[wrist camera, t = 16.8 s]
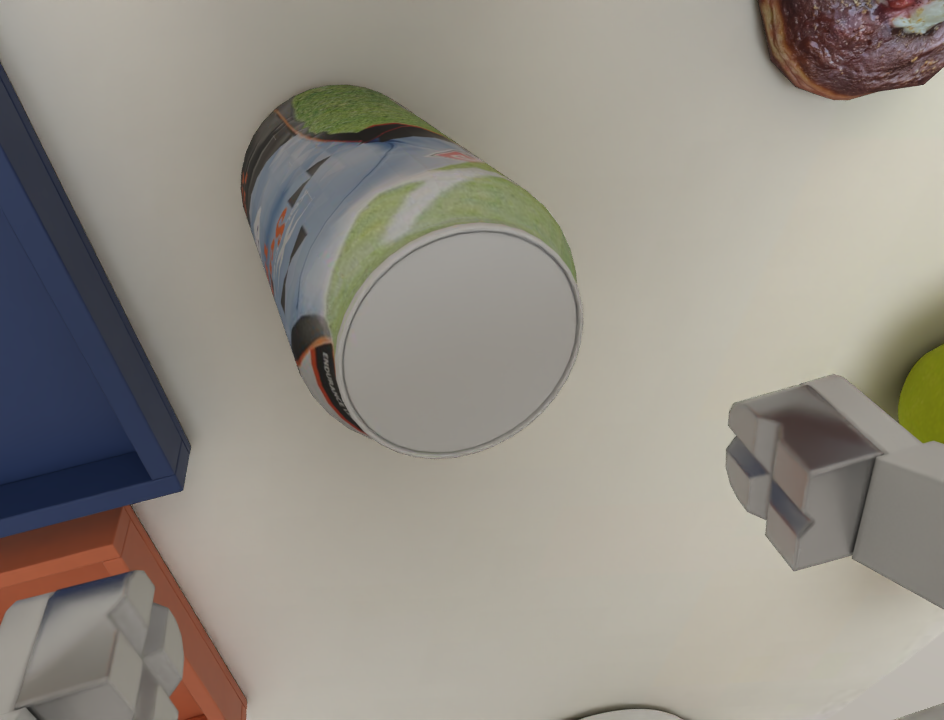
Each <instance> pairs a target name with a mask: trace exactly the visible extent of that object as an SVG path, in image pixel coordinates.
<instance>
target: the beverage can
mask: <svg viewBox="0 0 944 720" xmlns="http://www.w3.org/2000/svg"><path fill="white" fill-rule="evenodd" d="M241 194H242V201H243V207H244V210H245V213H246V216H247V219H248V222H249V225H250V228H251V231H252V234H253V237H254V240H255V243H256V246H257V249H258V252H259V255H260V258H261V261H262V264H263V267H264V270H265V273H266V276H267V279H268V281H269V284H270V287H271V290H272V293H273V296H274V299H275V302H276V305H277V308H278V311H279V314H280V317H281V320H282V323H283V326H284V329H285V332H286V335H287V337H288V340H289V343H290V346H291V349H292V352H293V355H294V358H295V361H296V364H297V367H298V370H299V373H300V375H301V377H302V378H303V380H304V382H305V384H306V385H307V387H308V389H309V390H310V392H311V394H312V395H313V397H314V398H315V399H316V400H317V401H318V402H319V403H320V404H321V406H322V407H323V408H324V409H325V410H326V411H327V412H328V413H329V414H330V415H331V416H333V417H334V418H335V419H337V420H338V421H339V422H341V423H342V424H343V425H345V426H346V427H348V428H349V429H351V430H353V431H355V432H357V433H360V434H362V435H364V436H366V437H368V438H370V439H374V440H375V441H377V442H378V443H379V444H381V445H383V446H385V447H387V448H389V449H391V450H393V451H396V452H398V453H402V454H405V455H409V456H413V457H419V458H430V459H443V458H456V457H460V456H465V455H470V454H474V453H477V452H480V451H482V450H485V449H488V448H491V447H493V446H495V445H497V444H499V443H501V442H503V441H505V440H507V439H509V438H511V437H512V436H514V435H515V434H516V433H518V432H519V431H521V430H522V429H524V428H525V427H526V426H528V425H529V424H530V423H531V422H532V421H533V420H535V419H536V418H537V417H538V416H539V415H540V414H541V413H542V412H543V411H544V410H545V409H546V408H547V407H548V405H549V404H550V403H551V402H552V401H553V400H554V398H555V397H556V396H557V394H558V393H559V391H560V390H561V388H562V387H563V385H564V384H565V382H566V380H567V379H568V377H569V374H570V372H571V370H572V368H573V366H574V364H575V361H576V358H577V355H578V351H579V348H580V344H581V338H582V330H583V309H582V301H581V297H580V293H579V289H578V286H577V280H576V270H575V266H574V262H573V258H572V254H571V250H570V247H569V245H568V243H567V241H566V239H565V237H564V235H563V233H562V230H561V228H560V226H559V225H558V224H557V222H556V221H555V220H554V218H553V217H552V216H551V214H550V213H549V212H548V210H547V209H546V208H545V207H544V206H543V205H542V204H541V203H540V202H539V201H538V200H536V199H535V198H534V197H533V196H532V195H531V194H530V193H528V192H527V191H526V190H525V189H523V188H522V187H520V186H519V185H517V184H516V183H514V182H513V181H511V180H510V179H508V178H507V177H506V176H504V175H503V174H501V173H500V172H498V171H497V170H495V169H494V168H492V167H491V166H489V165H488V164H487V163H485V162H484V161H482V160H481V159H479V158H478V157H476V156H475V155H473V154H472V153H470V152H469V151H467V150H466V149H465V148H463V147H462V146H460V145H459V144H457V143H456V142H454V141H453V140H451V139H450V138H448V137H447V136H445V135H444V134H443V133H441V132H440V131H438V130H437V129H435V128H434V127H432V126H431V125H429V124H428V123H426V122H425V121H424V120H422V119H421V118H419V117H418V116H416V115H415V114H413V113H412V112H410V111H409V110H407V109H406V108H404V107H403V106H402V105H400V104H399V103H397V102H395V101H394V100H392V99H390V98H388V97H387V96H385V95H383V94H381V93H379V92H376V91H373V90H370V89H367V88H364V87H357V86H351V85H328V86H324V87H319V88H315V89H310V90H308V91H305V92H303V93H301V94H298V95H296V96H294V97H292V98H291V99H289V100H288V101H286V102H285V103H283V104H282V105H280V106H279V107H277V108H276V109H275V110H274V111H273V112H272V113H271V114H270V115H269V116H268V117H267V118H266V119H265V120H264V121H263V123H262V124H261V126H260V127H259V129H258V130H257V131H256V133H255V134H254V136H253V138H252V140H251V142H250V145H249V147H248V149H247V151H246V155H245V159H244V163H243V167H242V174H241Z"/></svg>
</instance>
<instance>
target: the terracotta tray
mask: <svg viewBox="0 0 944 720" xmlns="http://www.w3.org/2000/svg"><path fill="white" fill-rule="evenodd" d="M133 570H142V571H145V573H146V574H147V576H148V577H149V579H150V580H151V581H152V583H153V584H154V586H155V591H154V598H153V602H154V603H157V604H160V605H162V606H165V607H167V608H169V609H170V611H171V612H172V614H173V616H174V617H175V619H176V621H177V624H178V627H179V630H180V632H181V635H182V643H183V651H184V667H183V678H182V680H181V682H180V683H179V685H178V686H177V687H176V689H175V690H174V692H173V693H172V694H171V696H170V697H169V698H170V700H171V701H172V703H173V704H174V706H175V707H176V708H177V710H178V711H179V714H178V720H246V710H247V700H246V698H245V697H244V695H243V693H242V692H241V690H240V688H239V687H238V685H237V683H236V682H235V680H234V678H233V677H232V675H231V673H230V672H229V670H228V668H227V667H226V665H225V663H224V662H223V660H222V658H221V657H220V655H219V653H218V652H217V650H216V648H215V647H214V645H213V643H212V642H211V640H210V638H209V637H208V635H207V633H206V632H205V630H204V628H203V627H202V625H201V623H200V622H199V620H198V618H197V617H196V615H195V613H194V612H193V610H192V608H191V606H190V605H189V603H188V601H187V600H186V598H185V596H184V595H183V593H182V591H181V590H180V588H179V586H178V585H177V583H176V581H175V580H174V578H173V576H172V575H171V573H170V571H169V570H168V568H167V566H166V565H165V563H164V561H163V560H162V558H161V556H160V555H159V553H158V551H157V550H156V548H155V546H154V545H153V543H152V541H151V540H150V538H149V536H148V535H147V533H146V531H145V530H144V528H143V526H142V525H141V523H140V521H139V520H138V518H137V516H136V514H135V513H134V511H133V509H132V508H131V506H130V505H127V506H123V507H119V508H115V509H111V510H107V511H104V512H100V513H96V514H92V515H88V516H84V517H80V518H77V519H73V520H69V521H65V522H61V523H57V524H53V525H50V526H46V527H42V528H38V529H34V530H30V531H26V532H23V533H19V534H15V535H11V536H7V537H3V538H0V625H1V622H2V620H3V617H4V614H5V612H6V611H7V610H8V609H9V608H10V607H11V606H12V605H13V604H14V603H15V602H16V601H18V600H22V599H26V598H30V597H34V596H38V595H42V594H46V593H50V592H54V591H56V590H58V589H62V588H66V587H70V586H74V585H78V584H82V583H86V582H90V581H94V580H98V579H102V578H106V577H110V576H114V575H118V574H122V573H125V572H129V571H133Z"/></svg>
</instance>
